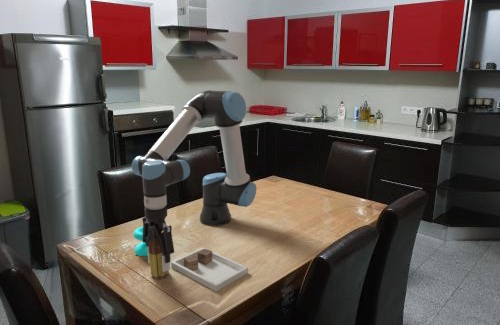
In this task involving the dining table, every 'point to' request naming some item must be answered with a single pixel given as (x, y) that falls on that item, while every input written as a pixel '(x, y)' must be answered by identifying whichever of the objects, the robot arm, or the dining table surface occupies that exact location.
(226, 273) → the tray
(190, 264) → the walnut block
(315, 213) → the dining table surface
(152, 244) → the sauce bottle
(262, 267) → the dining table surface
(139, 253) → the donuts
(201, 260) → the walnut block
